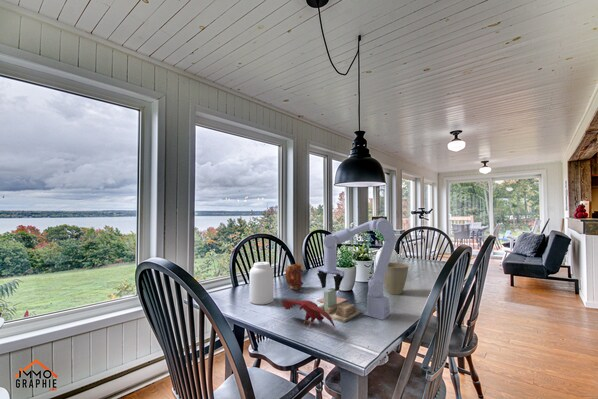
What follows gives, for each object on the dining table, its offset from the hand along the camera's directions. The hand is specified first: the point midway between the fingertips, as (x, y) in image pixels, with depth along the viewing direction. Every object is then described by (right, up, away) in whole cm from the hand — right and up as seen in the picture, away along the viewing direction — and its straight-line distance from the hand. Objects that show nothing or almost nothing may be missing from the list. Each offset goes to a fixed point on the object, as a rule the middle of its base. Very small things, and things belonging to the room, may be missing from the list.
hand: (330, 289), depth 139 cm
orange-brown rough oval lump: (-18, -11, +35) cm, 41 cm away
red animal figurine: (-10, -10, -16) cm, 21 cm away
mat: (+2, -11, +15) cm, 18 cm away
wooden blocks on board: (+3, -10, -3) cm, 11 cm away
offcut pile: (+6, -9, -6) cm, 13 cm away
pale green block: (0, -9, 0) cm, 9 cm away
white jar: (-34, -11, +15) cm, 39 cm away
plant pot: (+40, -11, +29) cm, 50 cm away
